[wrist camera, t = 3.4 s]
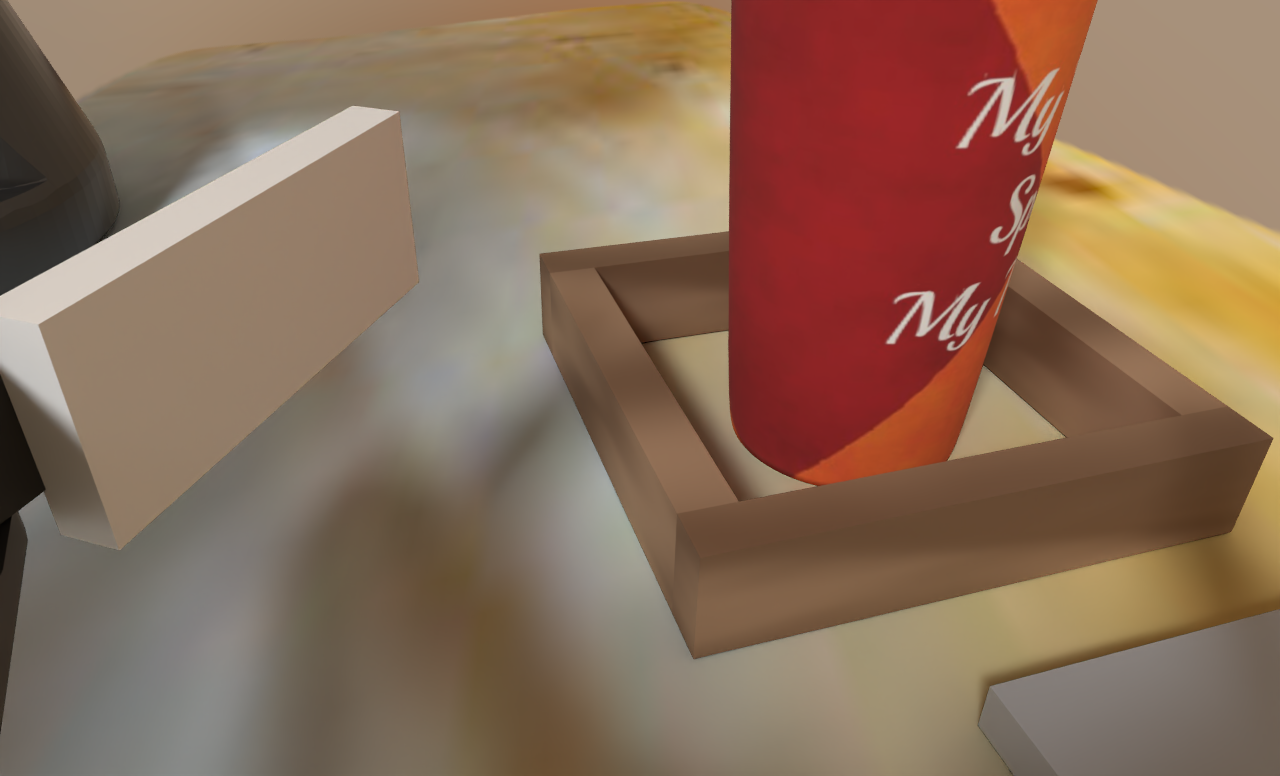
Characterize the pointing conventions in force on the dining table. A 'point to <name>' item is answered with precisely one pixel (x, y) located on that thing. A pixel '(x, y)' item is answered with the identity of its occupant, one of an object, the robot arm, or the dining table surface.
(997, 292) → the paper cup
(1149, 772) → the slate tile
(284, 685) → the dining table surface
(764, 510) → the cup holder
